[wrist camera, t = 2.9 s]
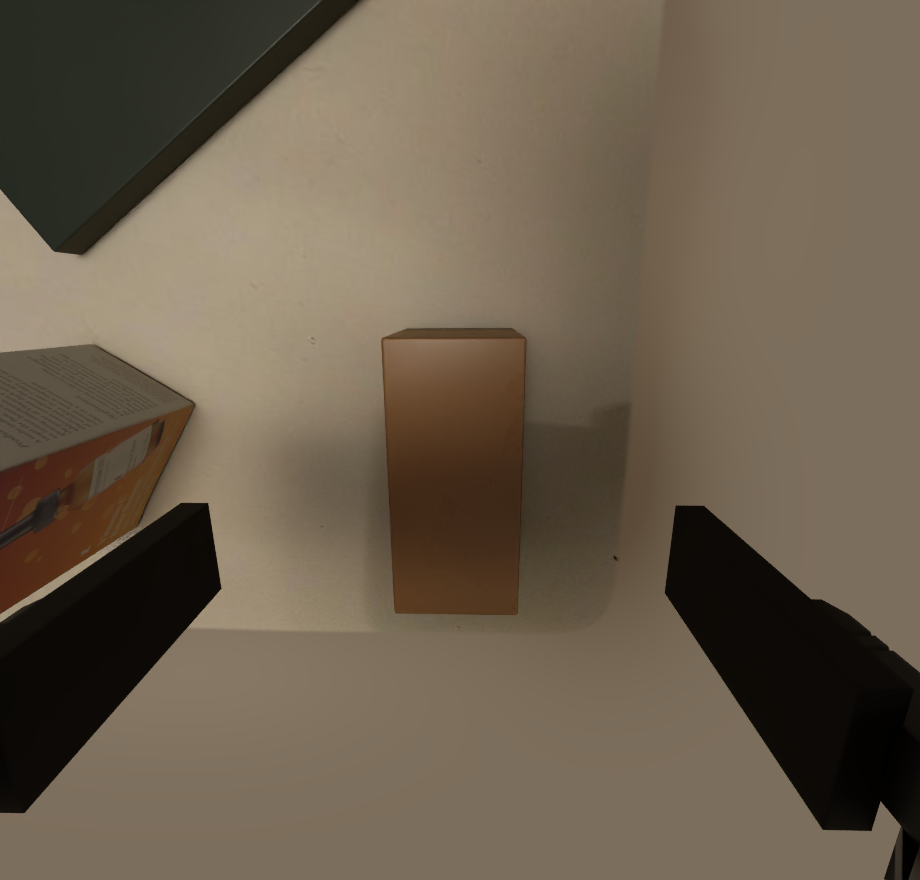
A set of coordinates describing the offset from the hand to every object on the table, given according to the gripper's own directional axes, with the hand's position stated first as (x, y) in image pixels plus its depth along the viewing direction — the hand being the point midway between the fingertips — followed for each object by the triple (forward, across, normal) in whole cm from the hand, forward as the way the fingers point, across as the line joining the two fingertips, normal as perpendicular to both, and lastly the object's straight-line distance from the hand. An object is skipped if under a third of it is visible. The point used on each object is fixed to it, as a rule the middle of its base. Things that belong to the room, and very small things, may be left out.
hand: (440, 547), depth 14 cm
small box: (+11, -17, 0) cm, 20 cm away
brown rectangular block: (+10, 0, 0) cm, 11 cm away
